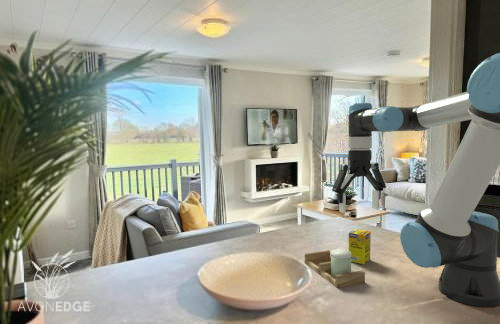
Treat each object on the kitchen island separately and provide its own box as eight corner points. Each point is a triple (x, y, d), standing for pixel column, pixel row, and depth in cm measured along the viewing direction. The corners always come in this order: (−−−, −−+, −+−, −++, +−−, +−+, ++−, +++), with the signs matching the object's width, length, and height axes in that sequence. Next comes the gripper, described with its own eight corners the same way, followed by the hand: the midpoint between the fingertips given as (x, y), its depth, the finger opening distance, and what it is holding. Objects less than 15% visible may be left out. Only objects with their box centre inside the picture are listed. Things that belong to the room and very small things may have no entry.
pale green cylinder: (355, 280, 101) (355, 254, 101) (338, 283, 99) (337, 257, 99) (343, 272, 107) (343, 248, 107) (326, 275, 105) (326, 250, 105)
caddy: (364, 284, 100) (364, 271, 100) (337, 289, 97) (337, 276, 97) (328, 261, 119) (328, 250, 119) (304, 264, 116) (304, 253, 116)
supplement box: (365, 267, 113) (365, 235, 112) (348, 263, 116) (348, 232, 116) (370, 261, 118) (371, 231, 117) (354, 258, 121) (354, 228, 120)
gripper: (382, 147, 121) (381, 205, 123) (321, 150, 113) (321, 211, 115) (397, 148, 114) (396, 209, 116) (334, 151, 106) (334, 216, 108)
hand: (359, 210), depth 116 cm, fingers open, 13 cm apart
